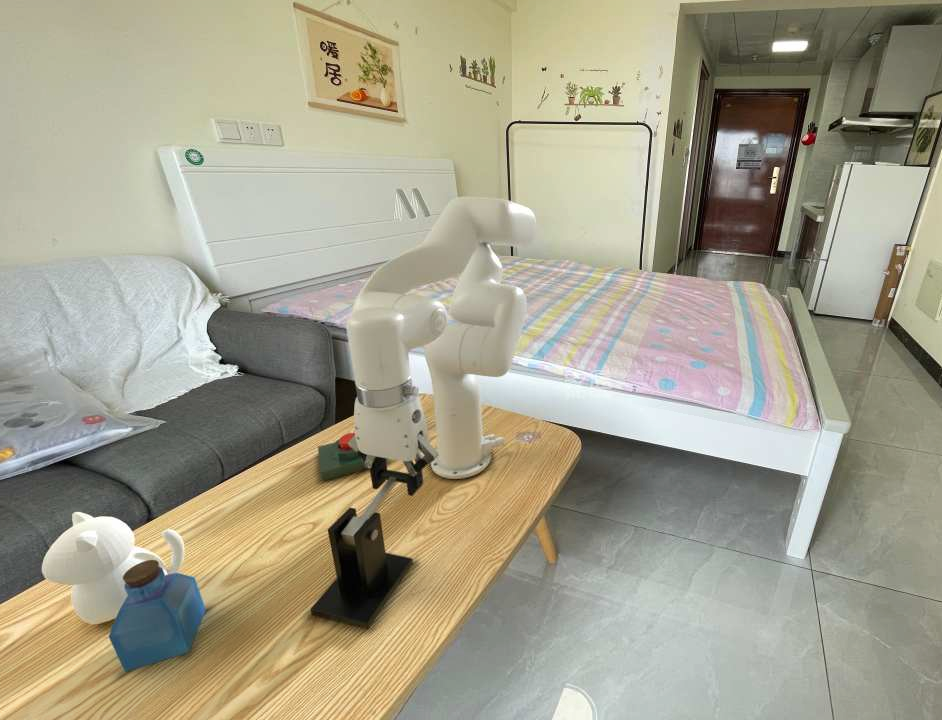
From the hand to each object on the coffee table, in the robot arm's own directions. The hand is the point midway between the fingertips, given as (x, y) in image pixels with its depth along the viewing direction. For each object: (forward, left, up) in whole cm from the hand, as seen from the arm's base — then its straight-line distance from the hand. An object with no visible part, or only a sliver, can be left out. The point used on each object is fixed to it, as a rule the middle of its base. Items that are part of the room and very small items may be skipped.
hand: (397, 485), depth 71 cm
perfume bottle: (+30, +2, -11) cm, 32 cm away
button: (+5, -28, -7) cm, 29 cm away
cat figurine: (+35, -8, -11) cm, 38 cm away
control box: (+5, -28, -11) cm, 30 cm away
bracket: (+7, +7, -11) cm, 15 cm away
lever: (+4, +4, 0) cm, 5 cm away
